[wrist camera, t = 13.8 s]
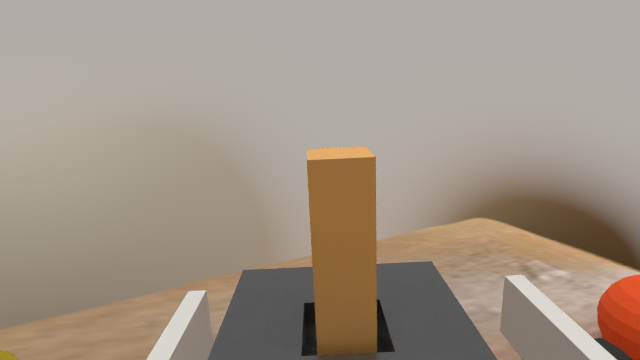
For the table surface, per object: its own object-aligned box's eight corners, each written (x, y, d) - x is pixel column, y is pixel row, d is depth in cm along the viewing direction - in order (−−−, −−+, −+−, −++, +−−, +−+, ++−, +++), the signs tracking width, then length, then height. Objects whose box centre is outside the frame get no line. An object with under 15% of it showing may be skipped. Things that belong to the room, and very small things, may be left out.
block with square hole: (123, 566, 17) (106, 497, 16) (231, 297, 38) (227, 261, 37) (607, 543, 17) (621, 473, 16) (443, 288, 38) (445, 251, 37)
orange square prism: (319, 389, 25) (306, 160, 21) (318, 348, 29) (308, 148, 25) (377, 386, 25) (375, 156, 21) (369, 346, 29) (366, 146, 25)
